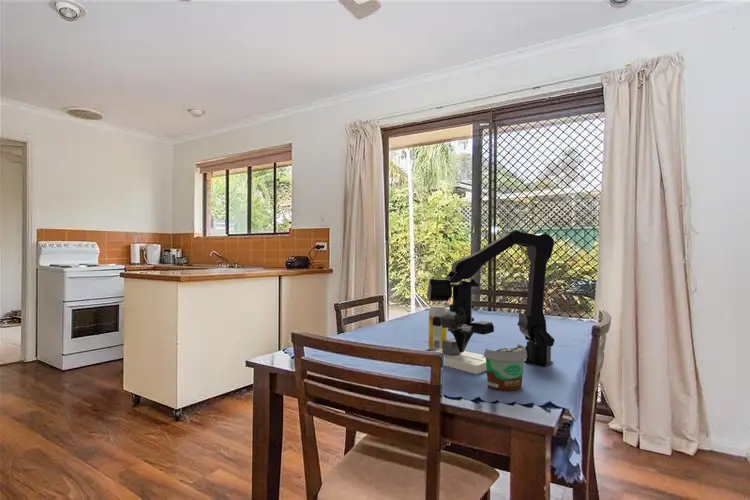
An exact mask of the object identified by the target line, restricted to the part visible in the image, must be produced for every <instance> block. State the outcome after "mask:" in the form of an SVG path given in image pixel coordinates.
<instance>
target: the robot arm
mask: <svg viewBox="0 0 750 500" xmlns="http://www.w3.org/2000/svg"><path fill="white" fill-rule="evenodd" d="M514 245H517V246H520V247H524V248H526V255H527V258H528V260H529V272H528V282H527V283H528V285H527V295H526V305H525V309H524V312H523V313H522V312H519V313H518V322H517V324H516V325H517V326H518V327H519V328H518V329H519V332H520V333H521V334H522V335H523V336H524V339H525V340H526V346H524V347H525V350H526V353H527V358H526V359H524V364H530V365H534V366H539V367H542V368H545V367H547V366H550V365H552V364H553V363H554V361H552V360H551V359H552V347H553V346H554V343H555V338H553V336H552V335H551V334H550V333H548V330H547V321H546V317H545V314H544V311H543V307H544V295H545V284H546V274H547V273H546V271H547V264H548V261H549V260H550V258H551V256H552V253H553V251H554V246H555V240H554V238H553V237H552V236H551V235H550V234H547V233H536V234H535V233H529V232H523V231H520V230H514V229H513V230H509V231H507V232H506V233H504V234H503V235H502V236H500V237H499V238H497V239H495V240H494V241H492V242H490V243H489V244H488V245H486V246H484V247H483V248H481V249H479V250H478V251H476V252H475V253H473V254H470V255H467V256H463V257H461V258H459V259H457V260H455V261H454V262H453V263H452V264H451V268H450V269H451V270H450V271H449V272H448V274H447V275H446V276H445V278H444V279H443V278H441V279H440V278H429V279H428V280H429V281H428V282H429V283H428V286H427V300H428V302H448V301H449V299H452V304H449V308H448V311H447V312H446V313H444V314H443V315H439V316H434V318H433V320H432V325H434V326H441V325H442V327H443V328H447V332H450V333H451V334H452V335H453V337H454V338H453V339H455V340H456V343H457V346H458V349H459V352H461V353H463V352H464V351H466V350H465V349H466V348H467V346H468V343H469V342H470V340H471V338H472V336H473V335H474V334H477V335H488V334H491V333H494V332H495V326H494V324H493V322H490V321H485V320H479V321H475V317H472V314H473V312H472V311H473V308H474V309H475V304H474V303H473V300H472V299H473V298H472V297H473V296H472V295H473V287H474V288H475V287H480V284H479V283H478V282H477V281H476V280H475V279H474V278H472V277H474V276H475V274H476V273H477V272H479V270H480V269H481V268H482V266H484V265H485V264H486V263H488V262H489V261H490V260H492V259H494V258H496V257H497V256H499V255H500V254H502V253H504V252H505V251H506V250H509V249H510V248H511V247H513V246H514Z"/></svg>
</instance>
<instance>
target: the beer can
mask: <svg viewBox="0 0 750 500" xmlns="http://www.w3.org/2000/svg"><path fill="white" fill-rule="evenodd" d="M447 310H448V309H447V307H446V305H443V304H432V305H430V306H429V308H428V348H429V349H430V351H431V352H432V351H435V350H439V349H442V341H443V340H447V339H448V338H447V332H448V330H447V329H448V328H443V327H442V325H441V326H434V325H432V320H433V318H434V316H439V315H443V314H444V313H446V312H447Z"/></svg>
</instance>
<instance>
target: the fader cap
mask: <svg viewBox="0 0 750 500" xmlns="http://www.w3.org/2000/svg"><path fill="white" fill-rule="evenodd" d="M442 353H443V354H446V355H450V356H453V355H456V354H459V353H461V352H459V349H458V346H457V343H456V340H455V338H453V337H452V338H447V340H443V341H442Z"/></svg>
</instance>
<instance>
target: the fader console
mask: <svg viewBox="0 0 750 500" xmlns="http://www.w3.org/2000/svg"><path fill="white" fill-rule="evenodd" d="M435 351H436V352H441V353H442V349H439V350H435ZM444 356H445V367H448V366H450V367H449V368H452V367H453V368H452V369H455V368H456V370H459V369H460V371H463V372H466V371H467V373H470V374H474V375H478V373H479V374H481V373H483V372H487V368H486V358H485V357H484V354H480V353H475V352H470V351H466V350H464V352H463V353H459V354H456V355H453V356H450V355H446V354H444Z"/></svg>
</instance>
